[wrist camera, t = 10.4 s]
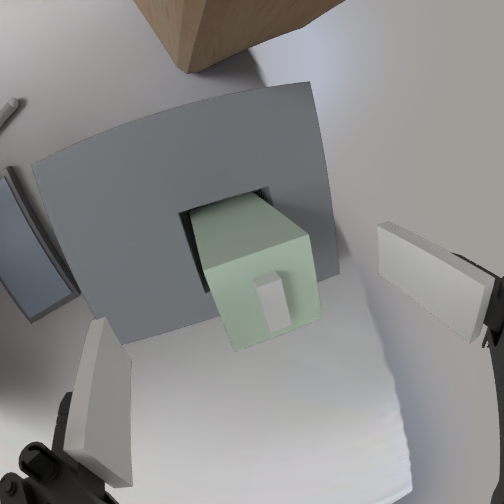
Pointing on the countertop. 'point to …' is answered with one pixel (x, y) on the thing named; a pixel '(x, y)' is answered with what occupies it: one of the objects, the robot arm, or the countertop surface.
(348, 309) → the countertop surface
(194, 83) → the countertop surface
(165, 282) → the plate
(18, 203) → the phone
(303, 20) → the block
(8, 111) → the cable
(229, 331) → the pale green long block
